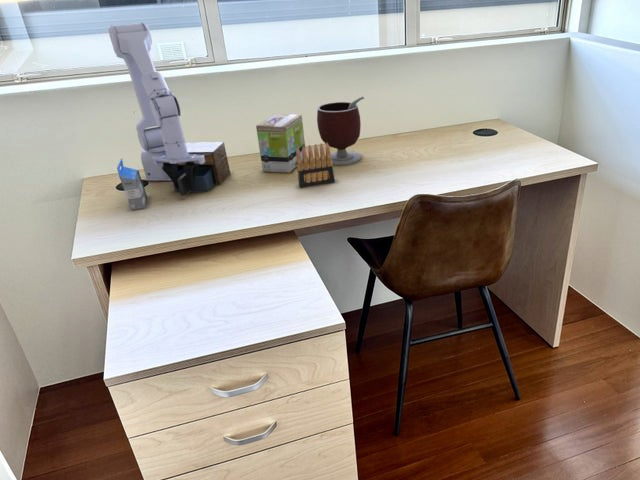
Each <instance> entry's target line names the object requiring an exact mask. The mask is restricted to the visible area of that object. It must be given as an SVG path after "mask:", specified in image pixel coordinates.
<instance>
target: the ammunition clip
mask: <svg viewBox="0 0 640 480" xmlns="http://www.w3.org/2000/svg"><path fill="white" fill-rule="evenodd" d="M330 148H331V147H329V145H328V143H326V144H325V148H324V145H323V143H322V142H321V143H320V145H319V149H318V146H317V144H316V143H315V144H314V147H313V148H312V146H311V145H310V144H308V149H307V150H306V146H305V147H304V146H303V148H302V154H303V161H302V160H301V155H300V151H299V148H298V147H297V148H296V156H297V166H296V168H297V179H298V187H299V189H304V188H309V187H316V186H322V185H328V184H333V183H335V182H336V179H335V173H334V167H333V166H334V165H332V158H331V149H330ZM307 151H308V155H307ZM325 156H326V158H325Z"/></svg>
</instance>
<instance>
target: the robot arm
mask: <svg viewBox="0 0 640 480" xmlns="http://www.w3.org/2000/svg"><path fill="white" fill-rule="evenodd" d="M108 35H109V39H110V42H111V45H112V48H113V51H114V55H116V58H119V59H122V60H123V61H124V63H125V65H126V66H127V70H128V73H129V76H130V79H131V83H132V87H133V89H134V93H135V95H136V99H137V102H138V105H139V109H140V113H141V115H142V118H141V119H139V121H138V122H137V123H136V127H135V129H136V133H137V138H138V141H139V144H140V147H141V149H142V151H141V153H140V161H141V165H142V168H143V171H144V175H145V179H144V180H145V181H146V182H148V181H149V182H152V181H153V182H157V181H158V182H160V181H163V182H164V181H171V182H172V184H173V186H174V185H175V187H176V189H179V186H178V182H177V179H178V178H179V175H178V168H177V164H181V163H186V165H184V166H183V169H184V171H185V173H186V176H187V179H188V183H189V186H190V189H193V188H194V187H195V174H196V169H197V165H198V163H199V164H203V163H205V158H204V155H194V154H188V152H187V147H186V143H187V142H186V139H185V135H184V130H183V127H182V123H181V120H180V117H181V115H182V113H181V107H180V104H179V100H178V97H177V96H176V95H175V94H174V93H173V91H172V90H170V89H169V86H168V84H167V82H166V80H165V77H164V75H163V74H162V73H161V72H160V71H158V70H156V67H155V64H154V61H153V58H152V56H151V53H150V51H151V50H152V44H153V39H152V34H151V31H150V29H149V26H148V25H147V24H146V22H144V21H142V22H138V23H129V24H127V23H126V24H119V25H118V24H117V25H113V24H111V25H109V27H108Z"/></svg>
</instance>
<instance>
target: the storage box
mask: <svg viewBox="0 0 640 480" xmlns="http://www.w3.org/2000/svg"><path fill="white" fill-rule="evenodd" d="M178 175H179V178H178V179H177V182H178V186H179V189H176V187H175V185H174V184H173V188H174V192H176V193H177V192H179V194H180V196H181V197H186V196H187V194H189V193H190V192H209V191H210V190H211V189H212V188H213V187H214V185H216V182H215V177H214V173H213V168H212V166H197V169H196V174H195V187H194V188H193V189H190V186H189V183H188V179H187V176H186V173H185V171H184V169H183V168H182V169H181V170H180V171H178Z"/></svg>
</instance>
